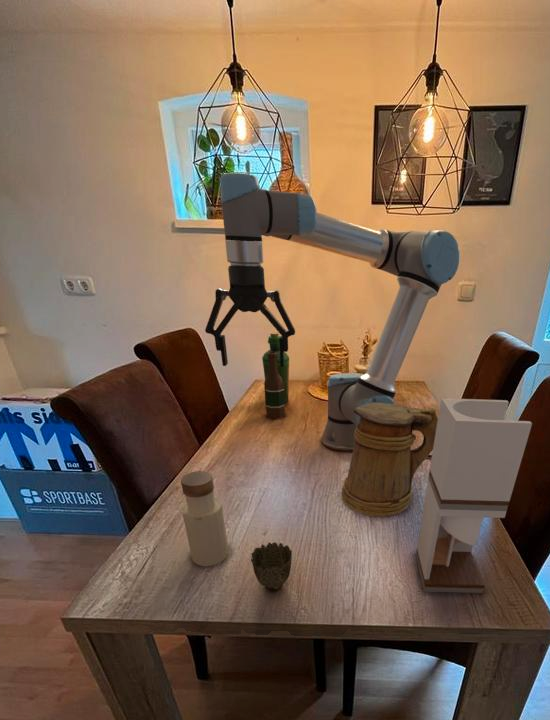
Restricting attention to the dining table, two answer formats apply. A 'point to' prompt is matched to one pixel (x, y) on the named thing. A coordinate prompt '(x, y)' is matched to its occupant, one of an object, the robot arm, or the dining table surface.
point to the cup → (272, 565)
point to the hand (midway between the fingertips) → (254, 365)
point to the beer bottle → (274, 389)
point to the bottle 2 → (278, 363)
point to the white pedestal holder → (466, 488)
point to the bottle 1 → (205, 529)
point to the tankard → (386, 457)
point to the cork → (197, 484)
